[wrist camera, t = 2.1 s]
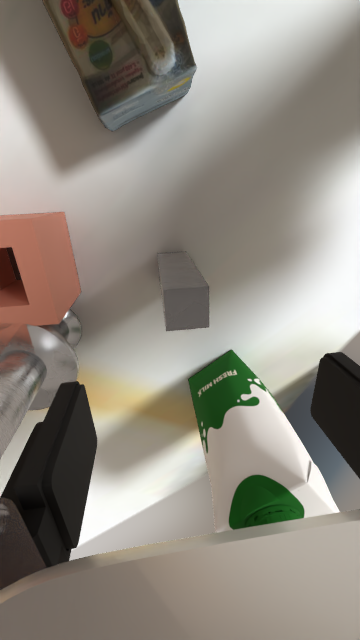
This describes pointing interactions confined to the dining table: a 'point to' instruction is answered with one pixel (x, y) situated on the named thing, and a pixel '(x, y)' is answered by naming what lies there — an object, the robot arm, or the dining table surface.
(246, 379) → the milk carton
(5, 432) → the silver flanged rod
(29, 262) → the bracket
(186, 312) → the gray square bar
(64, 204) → the dining table surface
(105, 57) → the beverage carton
